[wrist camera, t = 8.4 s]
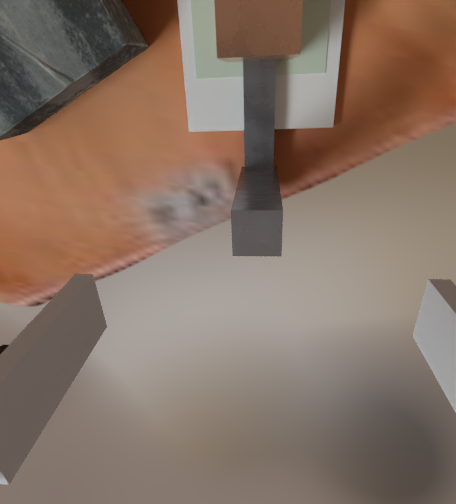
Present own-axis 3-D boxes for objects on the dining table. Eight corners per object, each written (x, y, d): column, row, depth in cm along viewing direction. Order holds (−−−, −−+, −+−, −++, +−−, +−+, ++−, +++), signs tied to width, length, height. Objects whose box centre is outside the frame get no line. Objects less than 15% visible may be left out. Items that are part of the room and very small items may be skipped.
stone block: (-45, 35, 28) (-106, 26, 24) (84, -78, 24) (41, -116, 20) (27, 134, 32) (-14, 143, 27) (152, 49, 27) (129, 43, 23)
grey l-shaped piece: (223, -20, 24) (195, -88, 14) (296, -26, 23) (319, -100, 13) (231, 199, 31) (217, 255, 21) (287, 199, 30) (297, 256, 21)
